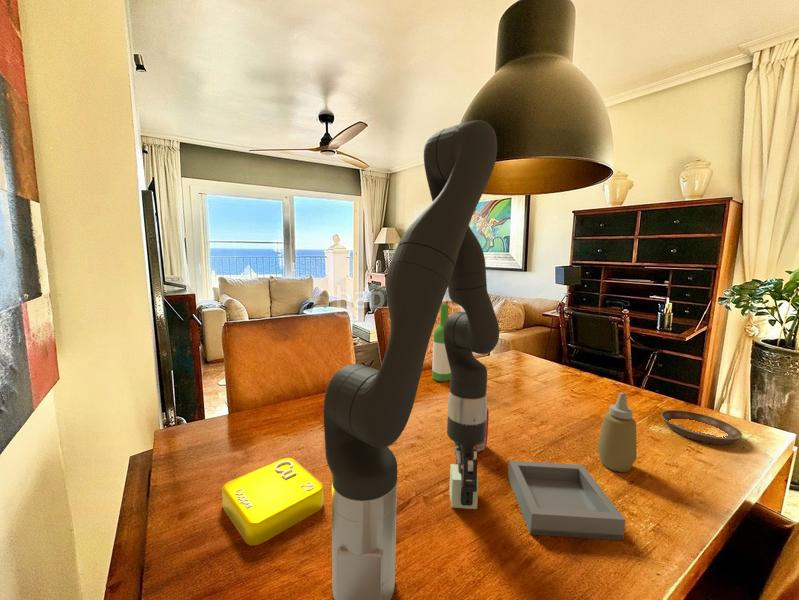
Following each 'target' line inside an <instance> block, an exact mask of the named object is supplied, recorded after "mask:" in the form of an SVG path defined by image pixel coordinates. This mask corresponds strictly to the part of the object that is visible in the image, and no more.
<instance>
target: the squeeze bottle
mask: <svg viewBox="0 0 799 600" xmlns="http://www.w3.org/2000/svg"><path fill="white" fill-rule="evenodd" d="M627 400H628V399H627V394H626V393H624V392H619V395H618V396H617V399H616V402H615V404H610V405H609V410H608V412H607V413H605V414H604V415H603V419H602V420H603V421H602V424H601V428H600V432H599V433H600V434H599V437H598V441H597V445H596V448H597V453H598V456H599V460H600V462H601V464H602V465H603V466H604V467H605V468H607V469H608V470H611V471H615V472H619V473H626V472H627V473H628V472H629V471H630V470H631V468H632V467H633V464H634V463H635V462H636V460H637V421H636V420H635V419H634V418H633V413H634V412H633V409H632V408H630V407H629V406H628V401H627Z"/></svg>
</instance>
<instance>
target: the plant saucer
mask: <svg viewBox="0 0 799 600" xmlns="http://www.w3.org/2000/svg"><path fill="white" fill-rule="evenodd" d="M661 418H662V419H663V421H664V423H665V424H666V425H667V426H668V427H669V429H671V430H672V431H673V432H675V433H677V434H679V435H681V436H683V437H685V436H686V437H685V438H687V439H690V438H691V440H693V439H694V440H693V441H697V440H698V441H697V442H700V441H701V443H705V444H709V443H711V444H710V445H717V444H719V445H718V446H720V445H721V446H725V444H726V445H729V444H733V443H735V442H737V441H738V440H740V439H741V438H742V437H743V433H742V431H741V430H739V429H738V428H737V427H735V426H734V425H732V424H731V423H727V422H726V421H723V420H720V419H719V418H715V417H712V416H709V415H706V414H702V413H697V412H693V411H688V410H679V409H670V410H663V411H662V412H661ZM671 419H689V420H695V421H698V422H702V423H705V424H708V425H711V426H714V427H716V428H719V429H720V430H722V431H724V432H725V433H727V434H728V436H725V437H726V438H725V437H724V436H723V438H722V437H716V436H714V435H710V434H705V433H701V432H699V433H698V432H695V431H693V432H692V430H689V429H684V426H681V425H683V424H681V425H680V424H679V425H675V424H673V423H670V422H669V420H671Z"/></svg>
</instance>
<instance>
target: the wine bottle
mask: <svg viewBox="0 0 799 600" xmlns="http://www.w3.org/2000/svg"><path fill="white" fill-rule="evenodd" d="M448 317H449V304H446V303H444V304H443V303H441V306H440V319H439V320H440V321H439V324H438V326H436V328H435V329H434V331H433V342H432V343H433V344H432V346H433V347H432V364H431V365H432V366H431V367H432V369H431V371H432V373H431V376H432V379H433V380H434V381H437V382H440V383H441V382H448V381H449V382H450V374H451V371H450V366H449V362H448V358H447V353H446V349H445V344H444V338H443V331H444V325H445V322H446V320H447V319H448Z"/></svg>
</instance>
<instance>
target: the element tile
mask: <svg viewBox="0 0 799 600" xmlns="http://www.w3.org/2000/svg"><path fill="white" fill-rule="evenodd" d="M221 496H222V500H221V501H222V508H223V509H222V510H224V512H225V513H226V516H227V517H228V518H229V520H230V521H231V523H232V524H233V526H234V527H235V529H236V531H237V532H238V533H239V535H240V536H241V537H242V540H243V541H244V542H245V543H246V544H247V545H249V546H258V545H261V544H264V543H265V542H267V541H269V540H270V539H272V538H274V537H275V536H277V535H279V534H281V533H283V532H284V531H286V530H288V529H290V528H291V527H293V526H294V525H296V524H298V523H299V522H302V521H304V520H305V519H307V518H308V517H310V516H313V515H314V514H315V513H317V512H319V511H320V510H321V509H323V507H324V503H325V501H324V497H325V496H324V484H323V483H322V482H321V481H320V480H319V478H317V477H316V476H314V475H313V474H312V473H311V472H310V471H308V469H306V468H305V467H304V465H301V463H299V462H298V461H297V460H296V459H294V458H292V457H285V458H281V459H279V460H276V461H274V462H272V463H270V464H267V465H265V466H262V467H260V468H258V469H255V470H253V471H250V472H248V473H246V474H244V475H241V476H239V477H237V478H234V479H232V480H229V481H227V482H226V483H224V485H223V486H222V489H221Z"/></svg>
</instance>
